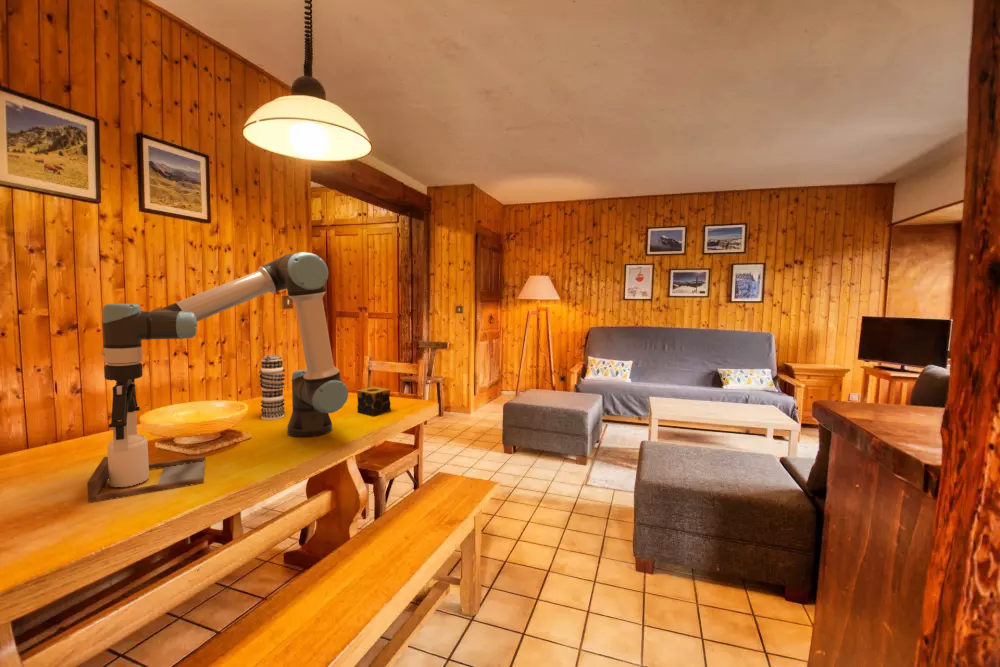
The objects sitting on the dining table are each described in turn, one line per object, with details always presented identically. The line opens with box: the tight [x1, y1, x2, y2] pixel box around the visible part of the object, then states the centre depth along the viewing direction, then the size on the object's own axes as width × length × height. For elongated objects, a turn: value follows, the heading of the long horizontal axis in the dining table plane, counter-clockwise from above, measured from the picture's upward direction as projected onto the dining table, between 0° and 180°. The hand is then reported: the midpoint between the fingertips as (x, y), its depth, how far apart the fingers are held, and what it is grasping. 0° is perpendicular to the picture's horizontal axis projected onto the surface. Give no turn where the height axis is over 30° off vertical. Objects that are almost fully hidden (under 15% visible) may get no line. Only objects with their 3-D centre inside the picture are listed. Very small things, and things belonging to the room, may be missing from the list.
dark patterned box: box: [356, 386, 392, 417], centre depth 189 cm, size 10×10×10 cm
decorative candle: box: [258, 354, 286, 421], centre depth 177 cm, size 9×9×25 cm
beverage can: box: [106, 434, 150, 488], centre depth 116 cm, size 8×8×12 cm
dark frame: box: [86, 455, 206, 503], centre depth 119 cm, size 23×18×5 cm
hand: (126, 443), depth 115 cm, fingers open, 13 cm apart
